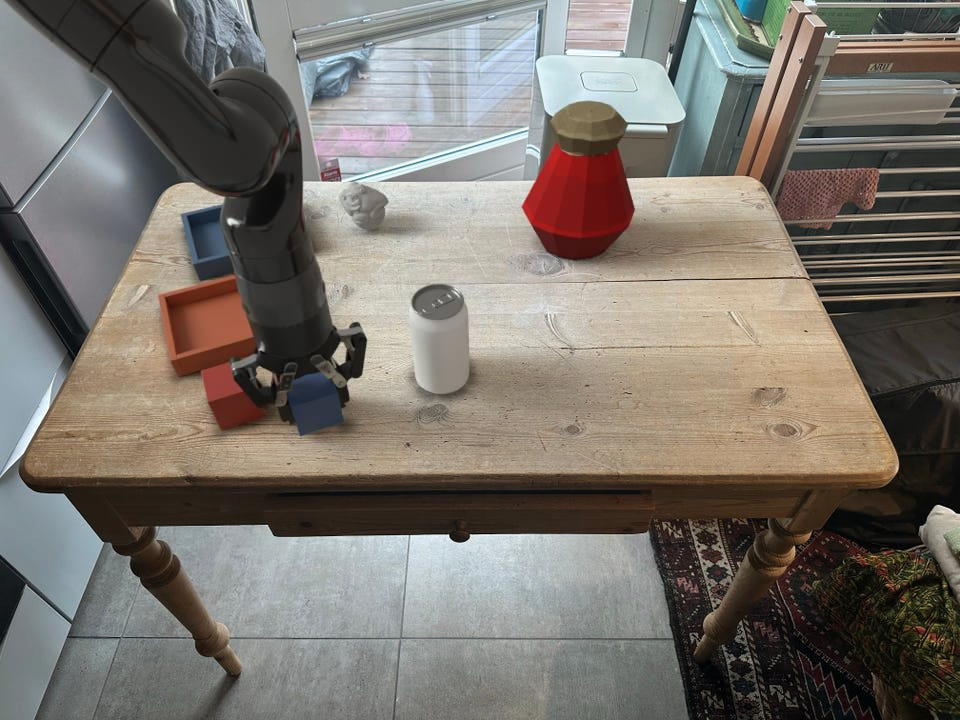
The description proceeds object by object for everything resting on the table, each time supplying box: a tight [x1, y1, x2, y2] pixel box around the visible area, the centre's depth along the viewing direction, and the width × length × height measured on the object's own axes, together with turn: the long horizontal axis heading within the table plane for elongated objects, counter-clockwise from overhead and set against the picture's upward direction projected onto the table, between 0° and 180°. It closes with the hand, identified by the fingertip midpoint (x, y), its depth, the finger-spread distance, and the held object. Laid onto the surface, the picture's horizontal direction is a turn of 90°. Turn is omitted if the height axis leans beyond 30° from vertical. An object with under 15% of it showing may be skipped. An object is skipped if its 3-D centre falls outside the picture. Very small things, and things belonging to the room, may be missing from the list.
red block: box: [200, 356, 266, 431], centre depth 75 cm, size 5×5×5 cm
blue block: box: [288, 372, 345, 437], centre depth 74 cm, size 5×5×5 cm
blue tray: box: [180, 203, 234, 281], centre depth 97 cm, size 16×13×3 cm
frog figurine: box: [338, 181, 389, 231], centre depth 98 cm, size 6×7×7 cm
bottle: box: [521, 100, 636, 261], centre depth 91 cm, size 16×14×20 cm
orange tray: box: [157, 274, 256, 378], centre depth 85 cm, size 16×13×3 cm
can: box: [408, 283, 470, 395], centre depth 76 cm, size 6×6×12 cm
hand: (315, 410), depth 75 cm, fingers closed on blue block, 5 cm apart
